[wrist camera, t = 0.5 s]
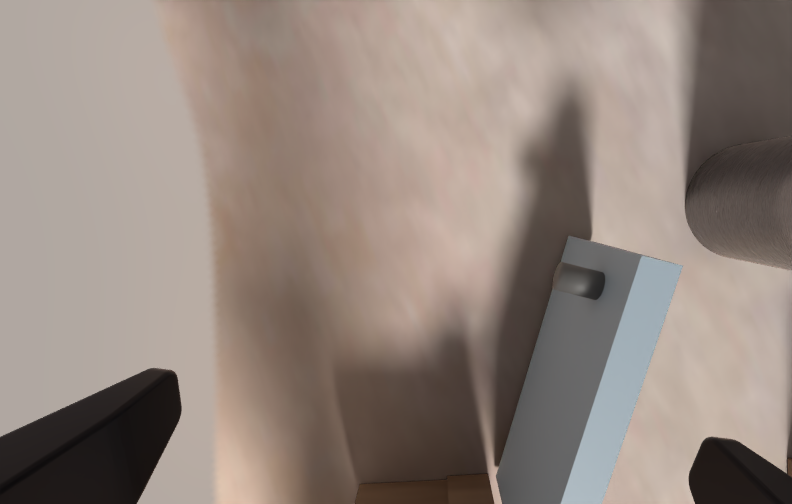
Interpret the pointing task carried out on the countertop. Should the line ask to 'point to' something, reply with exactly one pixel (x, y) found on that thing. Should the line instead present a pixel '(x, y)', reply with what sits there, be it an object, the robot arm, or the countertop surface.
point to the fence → (437, 491)
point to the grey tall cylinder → (745, 203)
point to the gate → (585, 374)
